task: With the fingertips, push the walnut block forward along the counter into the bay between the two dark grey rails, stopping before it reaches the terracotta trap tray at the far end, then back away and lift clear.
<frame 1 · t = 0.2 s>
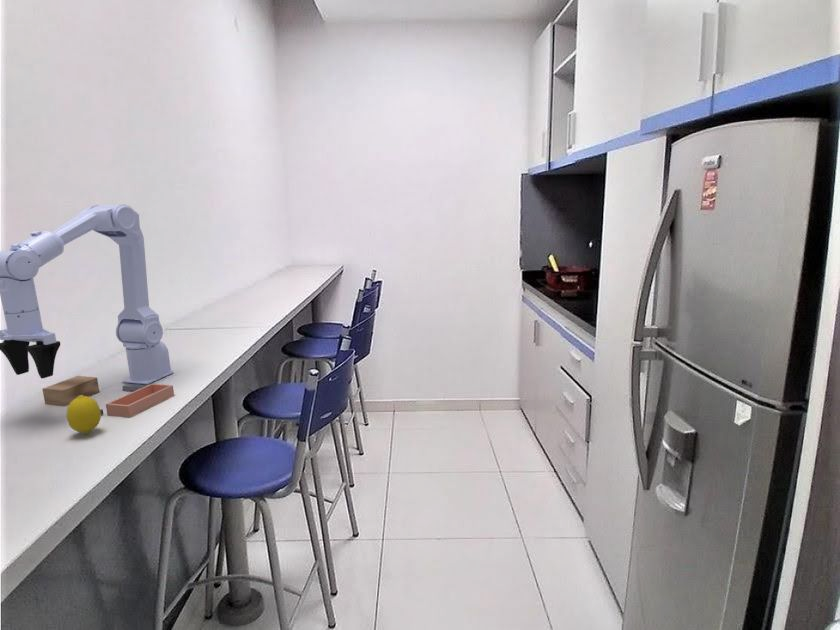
hand: (34, 375, 108), 10 cm above the table, tool pointing down, fingers open, 7 cm apart
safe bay: (113, 401, 120), on the table
block: (73, 399, 123), on the table
trap tray: (142, 404, 118), on the table
lemon: (87, 434, 103), on the table
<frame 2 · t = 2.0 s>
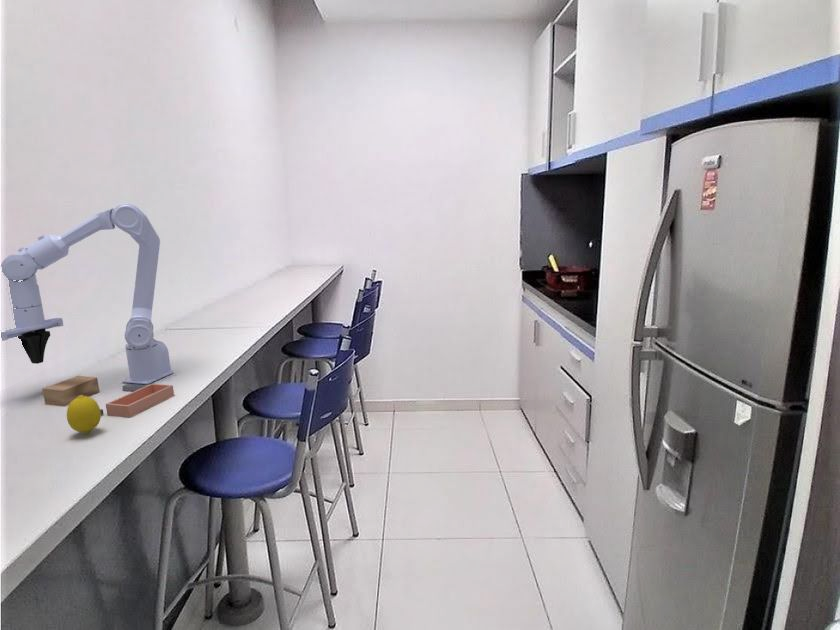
hand: (37, 362, 124), 8 cm above the table, tool pointing down, fingers closed
nothing on the table moved.
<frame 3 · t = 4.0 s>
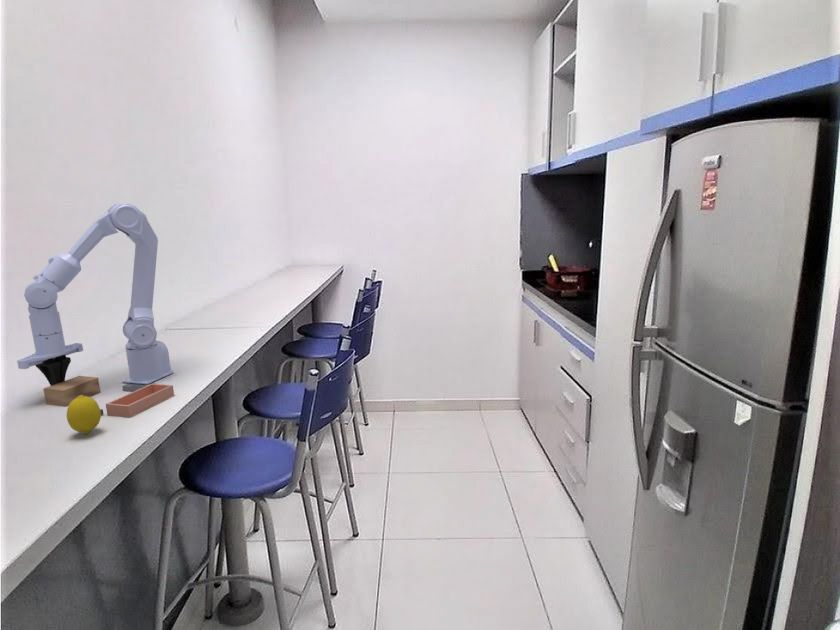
hand: (58, 388, 124), 2 cm above the table, tool pointing down, fingers closed
block: (74, 399, 123), on the table, touching gripper
everything else where it was.
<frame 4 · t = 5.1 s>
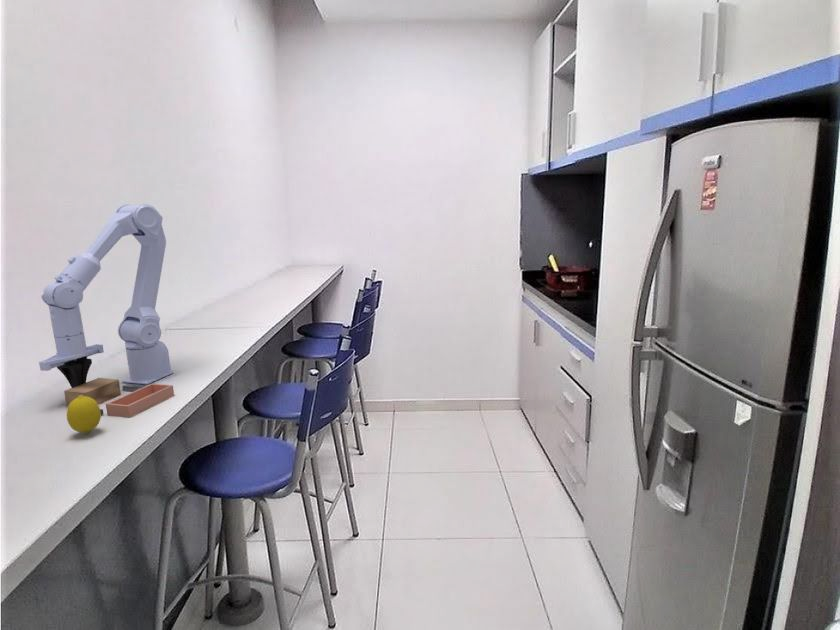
hand: (79, 390, 122), 2 cm above the table, tool pointing down, fingers closed
block: (94, 401, 121), on the table, touching gripper
everything else where it was.
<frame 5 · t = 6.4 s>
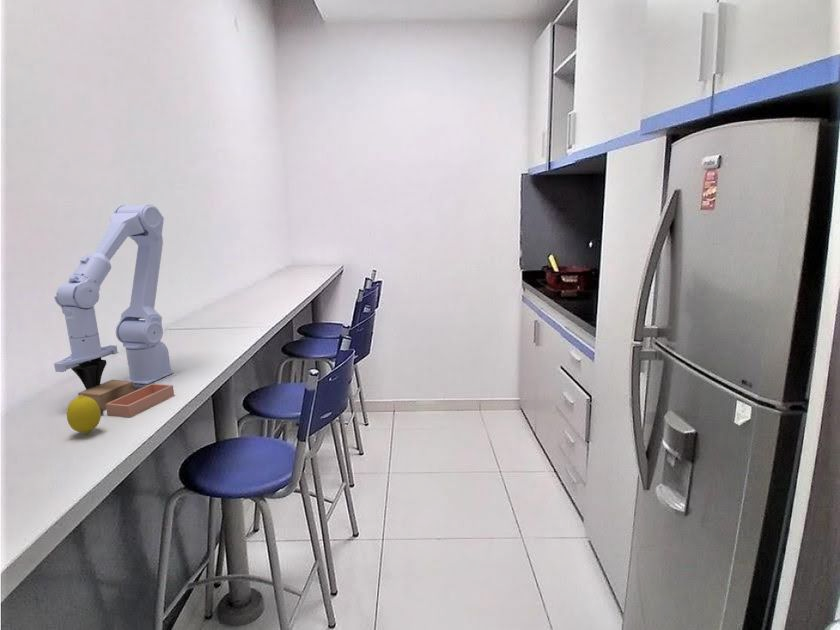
hand: (93, 392, 121), 2 cm above the table, tool pointing down, fingers closed
block: (109, 403, 120), on the table
everything else where it was.
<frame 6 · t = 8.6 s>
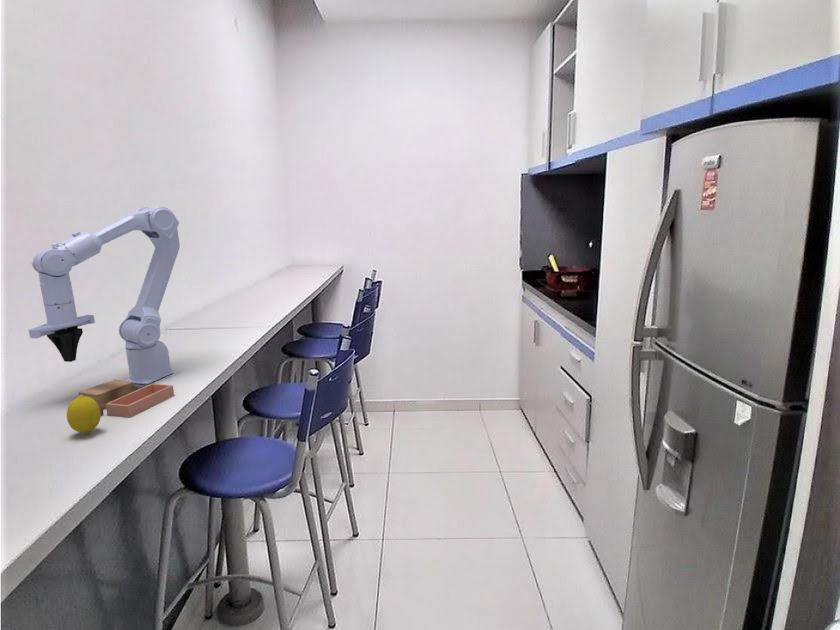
hand: (70, 360, 121), 9 cm above the table, tool pointing down, fingers closed
nothing on the table moved.
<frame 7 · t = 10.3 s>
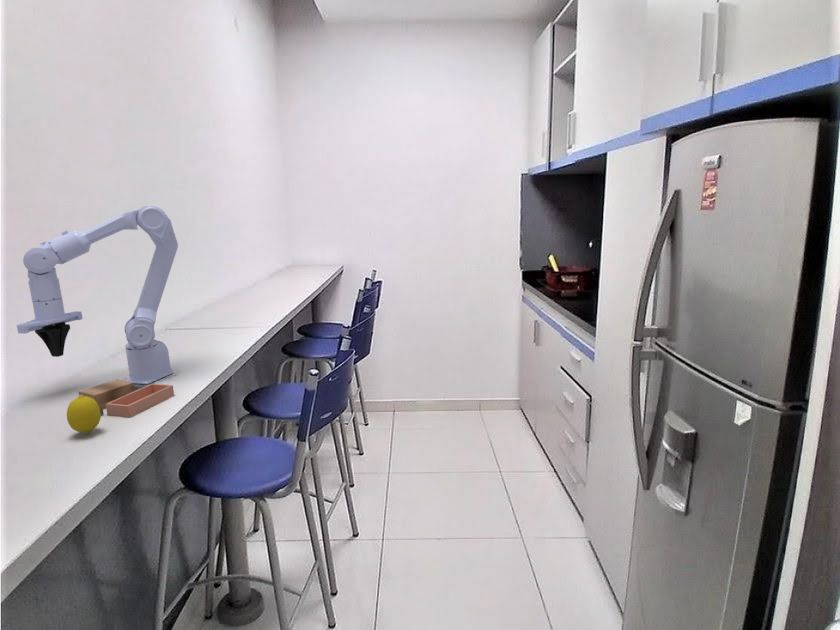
hand: (57, 355, 124), 9 cm above the table, tool pointing down, fingers closed
nothing on the table moved.
at the end: block inside the target area (0.5 cm from its centre), on the table; block touching table; block tilted 0° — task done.
